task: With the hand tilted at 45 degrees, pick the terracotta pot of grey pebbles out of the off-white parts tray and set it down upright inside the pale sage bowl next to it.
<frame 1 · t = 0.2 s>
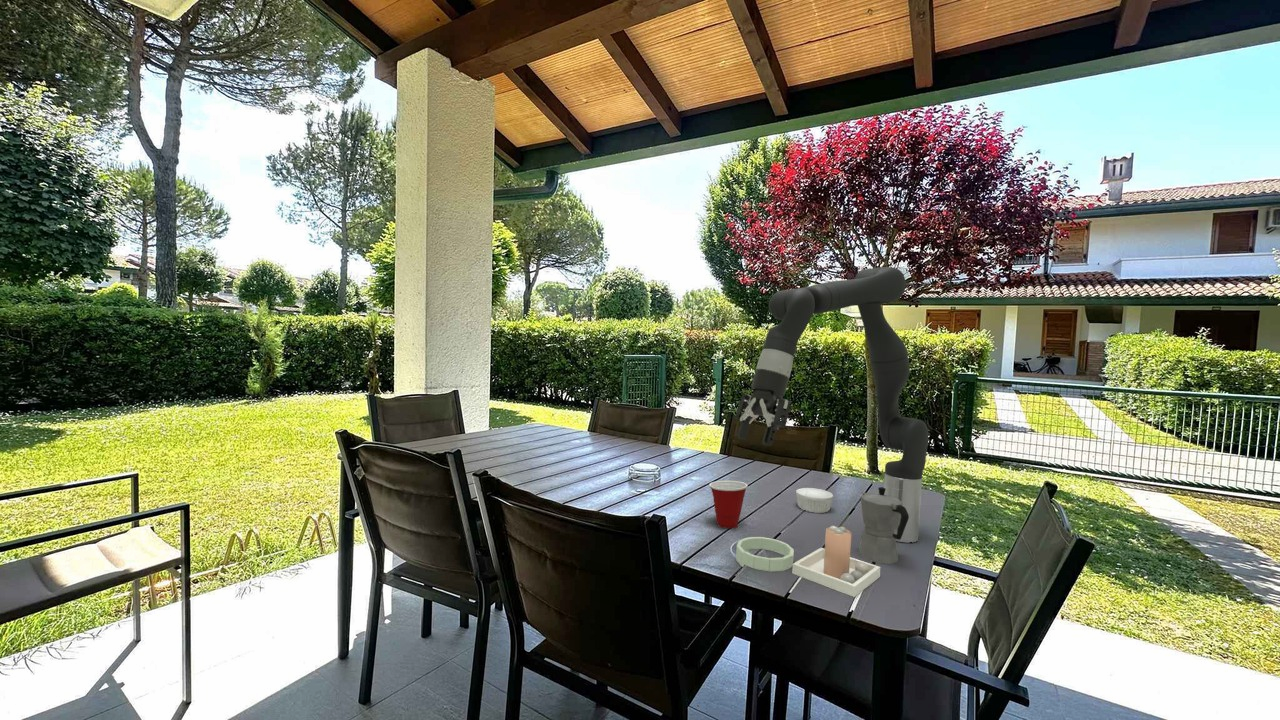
hand: (753, 441, 115), 30 cm above the table, tool tilted 20°, fingers open, 8 cm apart
sage bowl: (764, 562, 124), on the table
plastic cup: (726, 525, 149), on the table
coffeepot: (880, 561, 128), on the table
ramekin: (813, 509, 166), on the table
pebble pot: (836, 575, 117), point 1 cm above the table, touching parts tray
parts tray: (835, 578, 117), on the table
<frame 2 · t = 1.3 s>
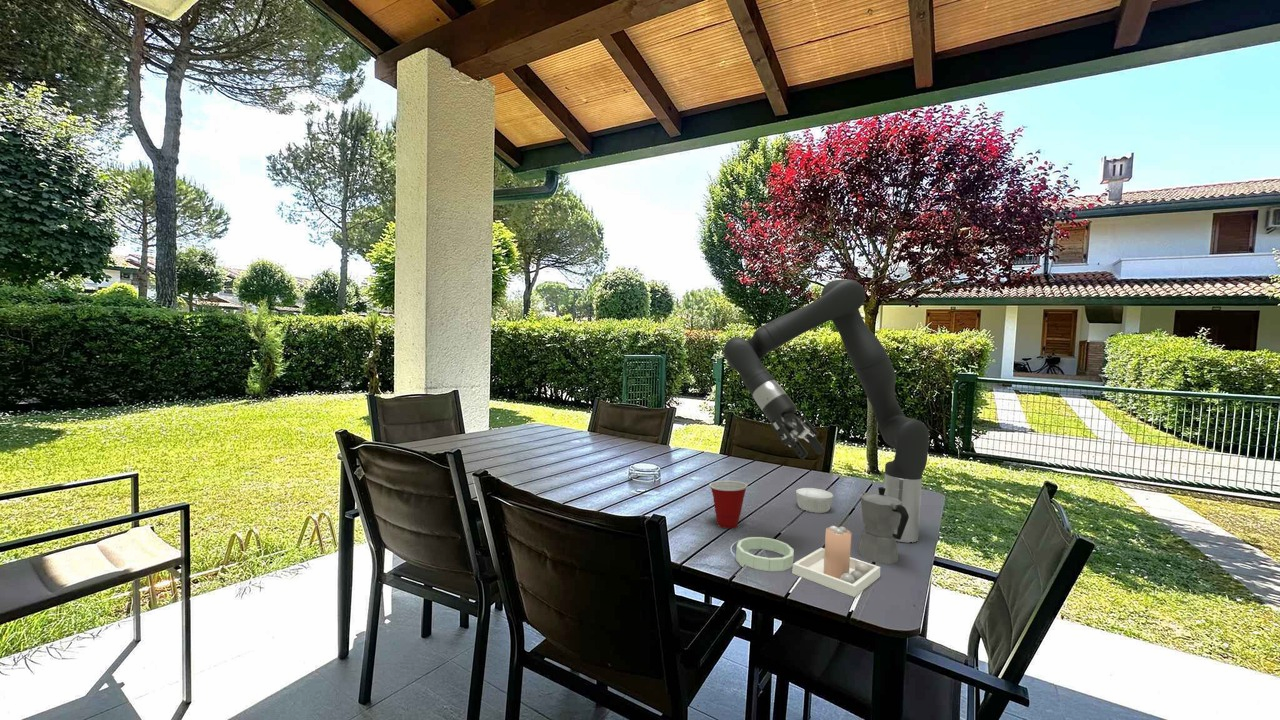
hand: (813, 454, 126), 26 cm above the table, tool tilted 45°, fingers open, 8 cm apart
nothing on the table moved.
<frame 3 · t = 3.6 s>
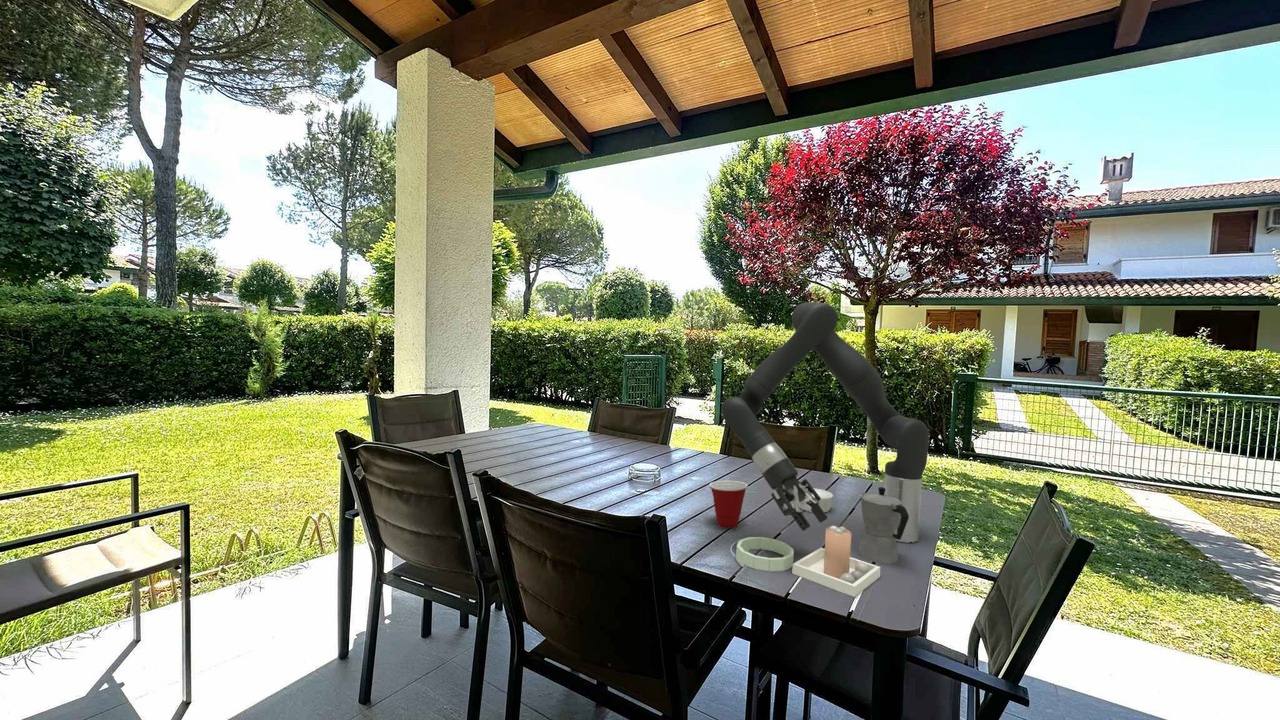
hand: (815, 524, 121), 11 cm above the table, tool tilted 45°, fingers open, 8 cm apart
nothing on the table moved.
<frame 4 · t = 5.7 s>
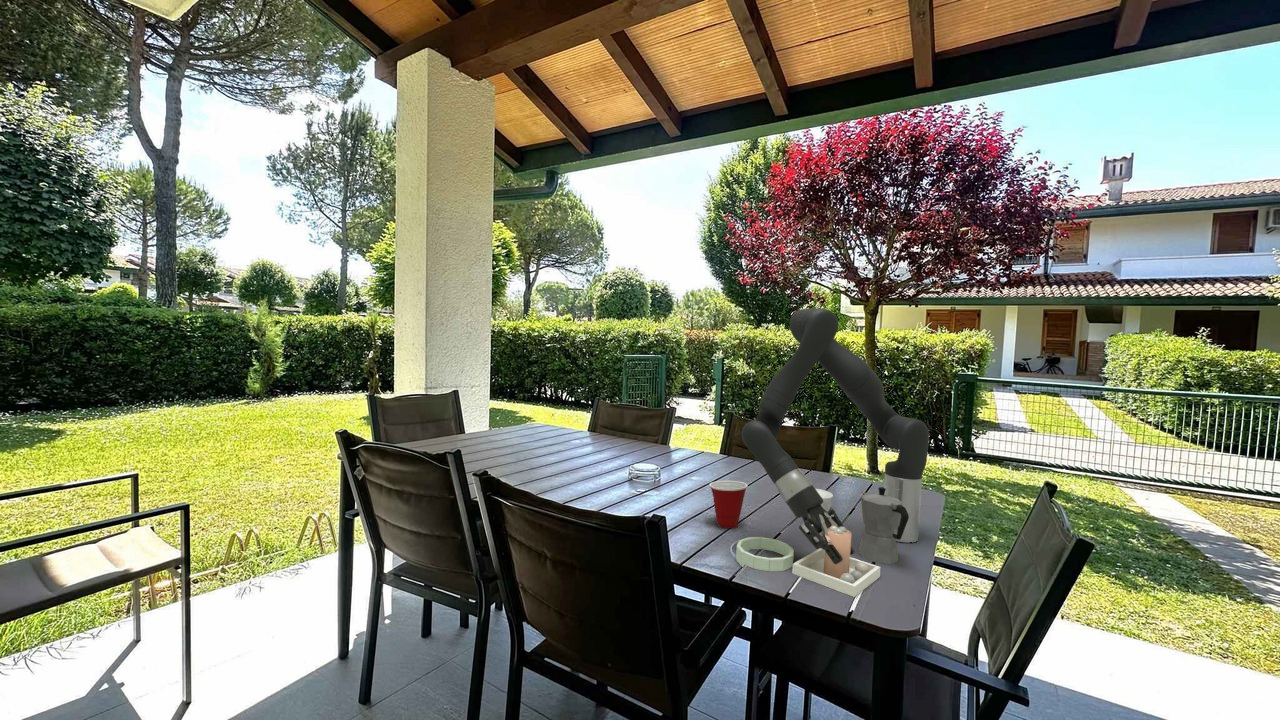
hand: (845, 558, 116), 5 cm above the table, tool tilted 45°, fingers closed on pebble pot, 5 cm apart
pebble pot: (836, 574, 117), point 1 cm above the table, touching gripper, parts tray
everything else where it was.
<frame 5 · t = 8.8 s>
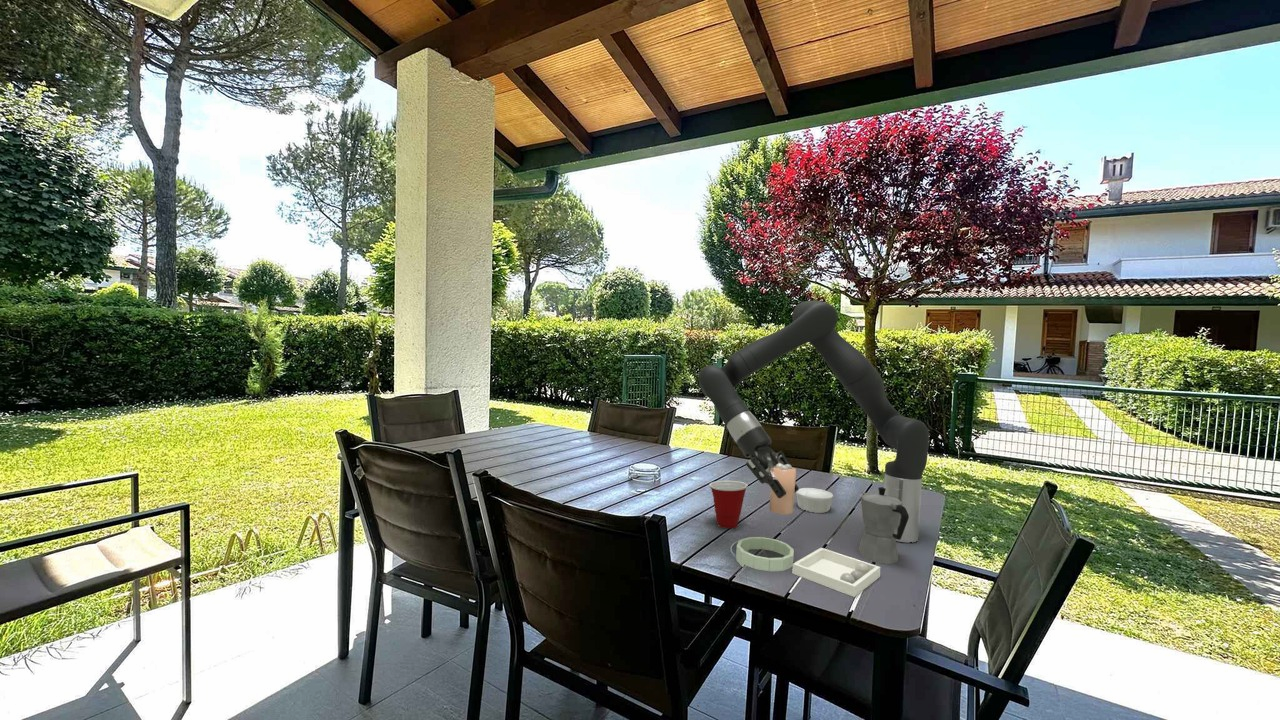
hand: (789, 493, 121), 18 cm above the table, tool tilted 45°, fingers closed on pebble pot, 5 cm apart
pebble pot: (781, 510, 122), point 13 cm above the table, touching gripper
everything else where it was.
when the fingers open (6 cm above the table, at t = 11.7 s): pebble pot drops 1 cm, resting on sage bowl.
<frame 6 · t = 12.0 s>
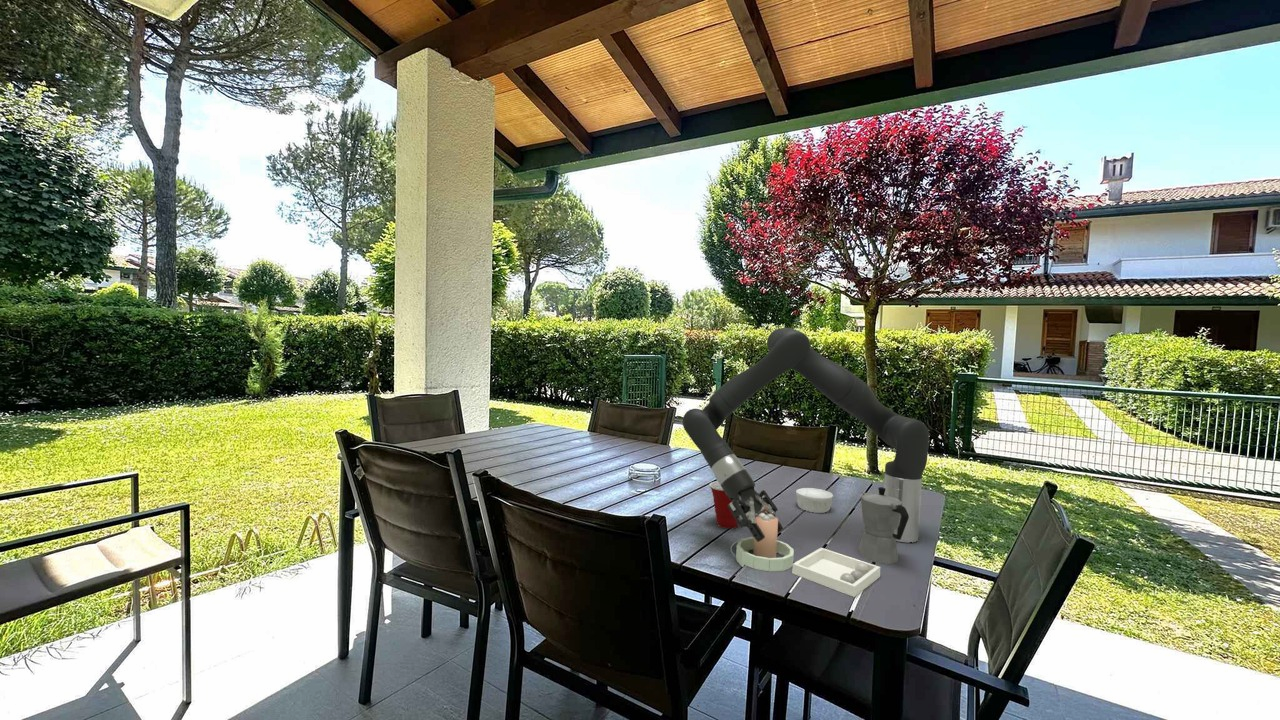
hand: (771, 535, 123), 7 cm above the table, tool tilted 45°, fingers open, 8 cm apart
pebble pot: (764, 559, 125), point 1 cm above the table, touching sage bowl
everything else where it was.
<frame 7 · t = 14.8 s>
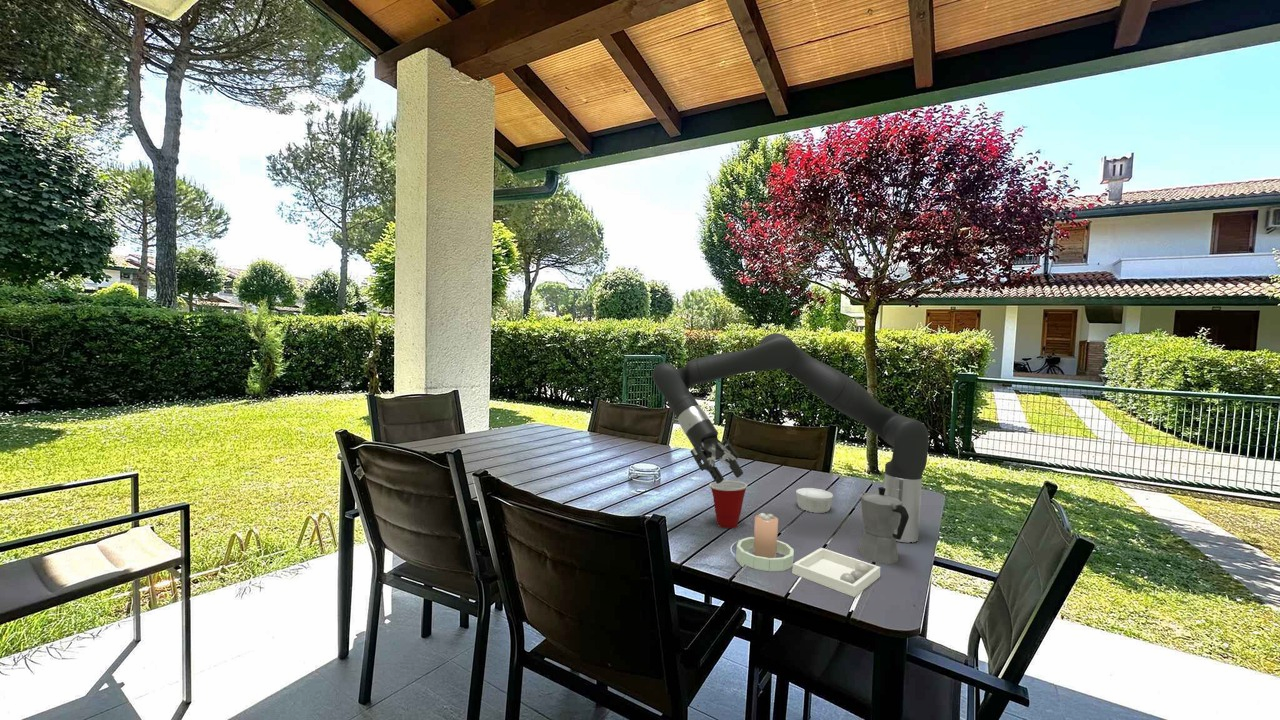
hand: (730, 478, 132), 18 cm above the table, tool tilted 45°, fingers open, 8 cm apart
nothing on the table moved.
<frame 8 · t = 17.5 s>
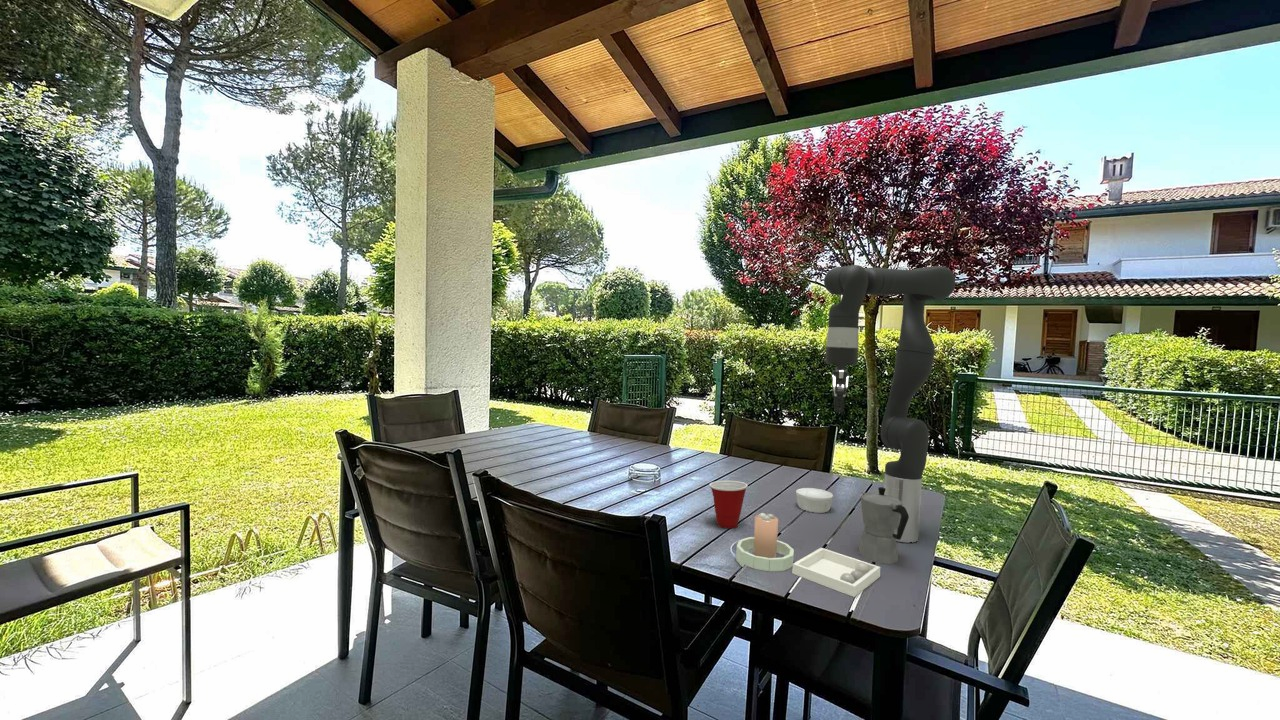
hand: (838, 409, 132), 36 cm above the table, tool pointing down, fingers open, 8 cm apart
nothing on the table moved.
at the end: pebble pot inside the target area on the sage bowl (0.2 cm from its centre), point 0.6 cm above the sage bowl's base; pebble pot tilted 0°; the gripper is holding nothing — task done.
